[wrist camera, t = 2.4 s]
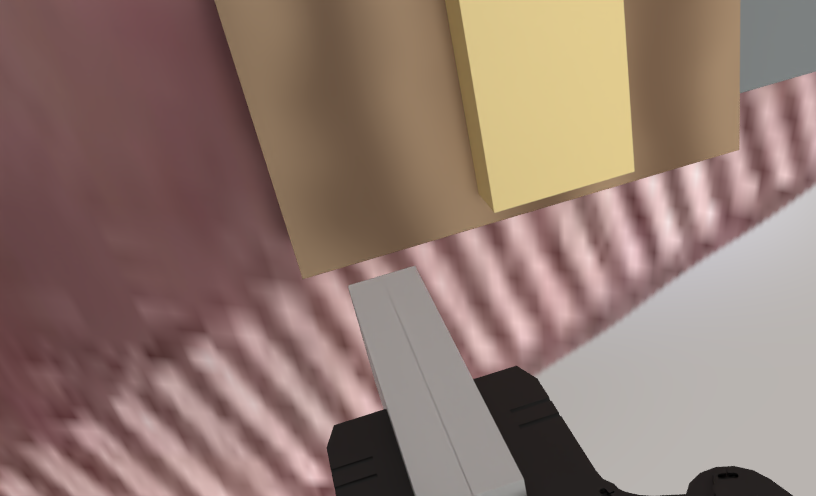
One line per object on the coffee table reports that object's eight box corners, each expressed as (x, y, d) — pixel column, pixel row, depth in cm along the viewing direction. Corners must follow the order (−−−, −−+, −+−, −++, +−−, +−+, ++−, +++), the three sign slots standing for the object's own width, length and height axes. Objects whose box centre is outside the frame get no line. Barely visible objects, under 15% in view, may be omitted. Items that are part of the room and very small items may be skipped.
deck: (293, 238, 35) (302, 279, 32) (209, -30, 30) (209, -16, 26) (689, 123, 37) (739, 149, 34) (682, -147, 32) (741, -149, 28)
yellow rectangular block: (611, 155, 33) (634, 171, 31) (478, 194, 32) (494, 213, 30) (593, -68, 28) (619, -63, 26) (440, -28, 28) (455, -21, 26)
